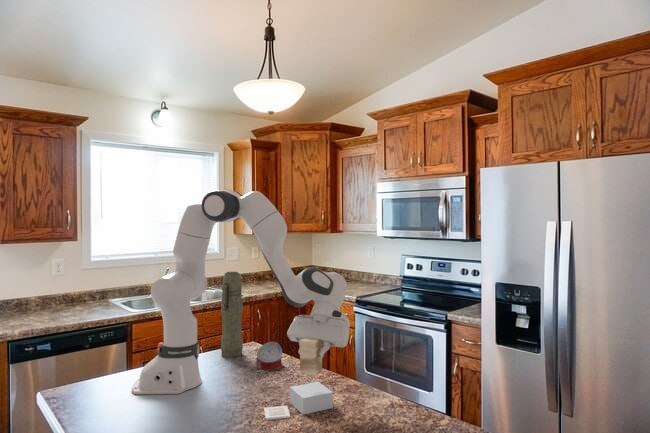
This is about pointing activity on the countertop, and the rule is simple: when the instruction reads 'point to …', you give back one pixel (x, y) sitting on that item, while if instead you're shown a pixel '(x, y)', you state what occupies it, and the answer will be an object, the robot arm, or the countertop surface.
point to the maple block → (310, 356)
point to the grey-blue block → (311, 397)
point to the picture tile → (276, 412)
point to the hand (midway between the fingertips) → (310, 355)
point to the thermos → (231, 316)
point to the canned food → (269, 356)
